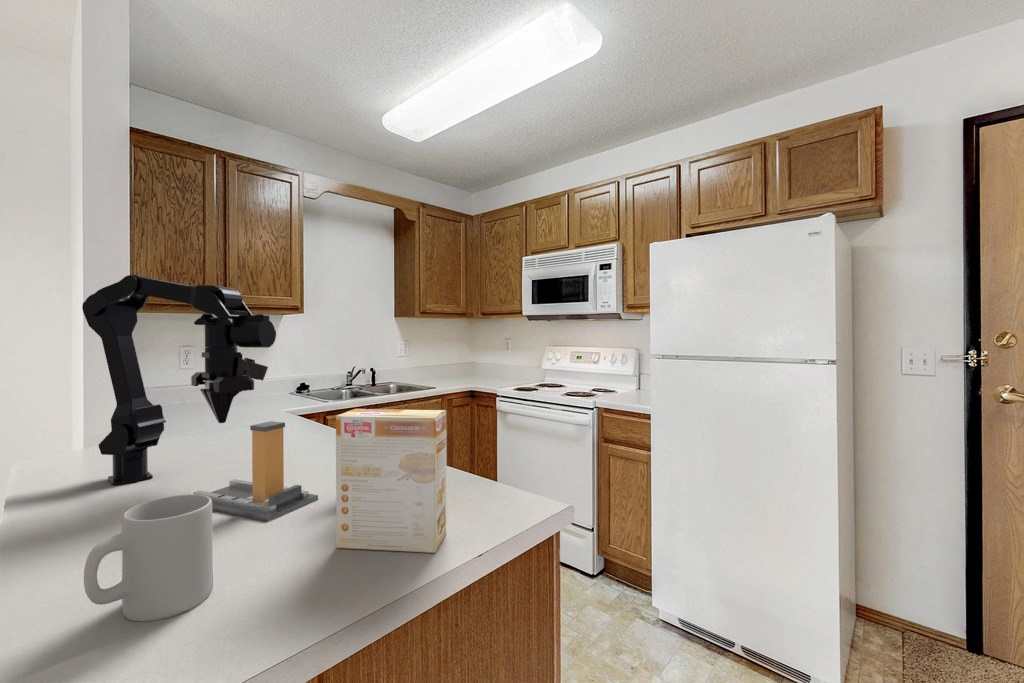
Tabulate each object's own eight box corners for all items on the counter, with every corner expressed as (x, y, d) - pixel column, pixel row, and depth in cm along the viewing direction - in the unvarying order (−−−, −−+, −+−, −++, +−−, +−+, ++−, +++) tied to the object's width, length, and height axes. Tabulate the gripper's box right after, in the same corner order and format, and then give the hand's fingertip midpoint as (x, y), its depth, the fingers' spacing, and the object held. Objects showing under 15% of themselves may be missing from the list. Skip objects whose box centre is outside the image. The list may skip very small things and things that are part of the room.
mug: (188, 574, 60) (188, 489, 60) (228, 591, 56) (228, 501, 56) (66, 626, 49) (65, 523, 49) (105, 651, 45) (104, 540, 45)
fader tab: (246, 502, 82) (246, 425, 82) (269, 493, 87) (269, 420, 87) (266, 506, 81) (266, 427, 80) (289, 497, 85) (288, 422, 85)
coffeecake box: (447, 533, 73) (447, 409, 72) (435, 554, 65) (435, 417, 65) (355, 528, 74) (355, 407, 74) (334, 549, 67) (334, 414, 67)
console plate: (185, 504, 84) (185, 487, 84) (240, 486, 94) (240, 470, 94) (268, 521, 76) (268, 502, 76) (318, 499, 87) (318, 482, 87)
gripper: (280, 347, 95) (281, 423, 96) (246, 345, 108) (247, 412, 108) (219, 348, 87) (220, 431, 87) (190, 346, 99) (190, 419, 99)
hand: (221, 422), depth 96 cm, fingers closed
